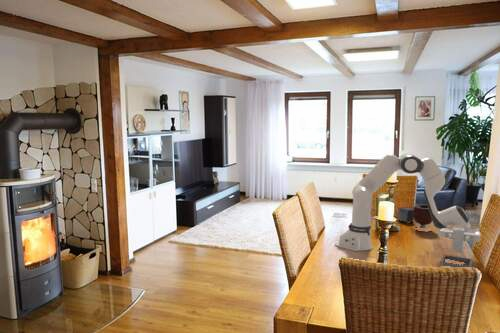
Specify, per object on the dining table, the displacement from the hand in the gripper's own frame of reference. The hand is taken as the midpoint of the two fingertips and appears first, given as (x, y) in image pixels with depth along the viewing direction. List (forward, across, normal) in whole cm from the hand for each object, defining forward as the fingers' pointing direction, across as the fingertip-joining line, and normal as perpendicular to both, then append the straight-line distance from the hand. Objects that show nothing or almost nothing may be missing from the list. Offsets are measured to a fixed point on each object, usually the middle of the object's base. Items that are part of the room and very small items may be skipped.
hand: (458, 238), depth 210 cm
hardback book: (-61, -54, +16) cm, 83 cm away
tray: (-1, 0, +16) cm, 16 cm away
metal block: (-1, 0, +7) cm, 7 cm away
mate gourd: (-68, -29, +16) cm, 76 cm away
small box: (-86, -44, +16) cm, 98 cm away
